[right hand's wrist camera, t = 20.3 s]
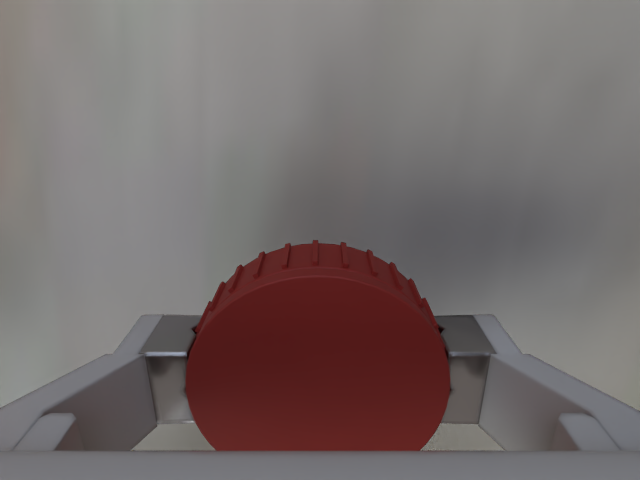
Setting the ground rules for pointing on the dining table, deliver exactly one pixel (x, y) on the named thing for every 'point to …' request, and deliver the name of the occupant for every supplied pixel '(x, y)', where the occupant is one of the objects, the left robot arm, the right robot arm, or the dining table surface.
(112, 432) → the right robot arm
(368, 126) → the dining table surface
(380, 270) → the lid
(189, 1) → the dining table surface
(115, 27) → the dining table surface
